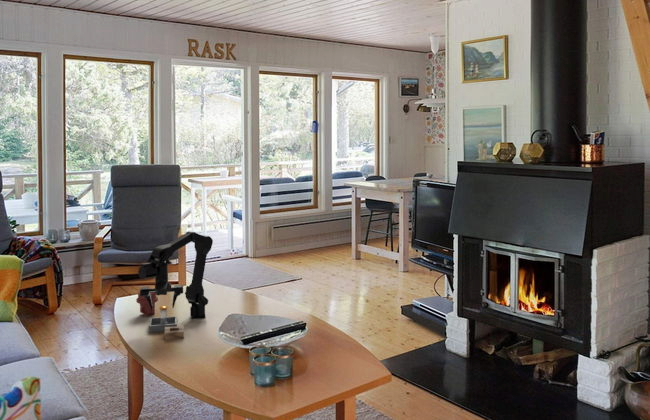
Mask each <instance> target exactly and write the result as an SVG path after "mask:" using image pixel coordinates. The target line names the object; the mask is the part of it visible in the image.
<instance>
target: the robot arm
mask: <svg viewBox="0 0 650 420" xmlns="http://www.w3.org/2000/svg"><path fill="white" fill-rule="evenodd" d="M213 242H214V240H213V238H212V237H211V236H209V235H204V234H203V235H202V234H200V233H197V232H195V231H190V230H188V231H185V232H184V234H182V235H180V236H179V237H177V238H175V239H173V240H171V241H170V242H169V243H166V244H161V245H158V246H156V247H154V248H153V249H152V251H151V254H150V256H149V258H148V259H147V261H146V263H141V264H140V267H139V268H138V270H137V273H138V276H139V278H140V279H141V280H146V279H150V278H154V288H150V286H141V287H140V289H139V291H140V296H143V297H146V299H147V300H148V302H149V305H150V307H151V310H152V299H151V293H156V296H161V295H162V296H167V295H168V293H170V292H171V293H172V292H173V296H172V297H173V299H172V304H171V305H172V309H174V307H175V304H176V300H177V299H178V297H179V296H181V294H184V295H185V299H186V300H187V302H188V304H190V305H191V306H189V307H190V308H189V309H190V310H189V311H190V313H189V314H190V317H191V319H204V318H206V306H207V305H208V304H209V299H208V298H207V297H206V296H205V289H204V286H203V279H204V273H205V267H206V261H207V257H208V254H209V252H210V251H211V250H212V247H213ZM190 243H193V244H194V251H195V261H194V266H193V271H192V278H191V283H190V284H189V285H186V287H185V292H184V285H183V284H174V286H173V287H172V283H170V282H169V268H168V267H169V265H172V264H173V262H172V261H170V258H171V257H172V256H173V255H174V253H176V251H179V250H180V249H182V248H184V247H185V246H186V245H188V244H190Z"/></svg>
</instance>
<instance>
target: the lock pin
mask: <svg viewBox="0 0 650 420" xmlns="http://www.w3.org/2000/svg"><path fill="white" fill-rule="evenodd" d="M167 309H168V306H167V305H161V306H159V312H160V313H159V314H160V320H161V325H165V324H167V317H168V313H167Z"/></svg>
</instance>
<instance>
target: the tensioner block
mask: <svg viewBox="0 0 650 420" xmlns="http://www.w3.org/2000/svg"><path fill="white" fill-rule="evenodd" d="M179 339H181V340H182V339H185V328H184V325H177V326H174V327H165V332H164V340H165V341H168V340H179Z"/></svg>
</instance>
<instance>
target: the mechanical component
mask: <svg viewBox="0 0 650 420" xmlns="http://www.w3.org/2000/svg"><path fill="white" fill-rule="evenodd" d="M151 299H152V310H151V307H150V305H149V302H148V300H147V299H146V297H143V296H140V290H139V291H138V292H137V298H136V300H135V301H136V303H137V304H138V305H139V313H141V314H142V315H143V317H148V316H150V315H151V316H152V315H155V314H156V303H157V302H159V297H158V295H156V293H151Z"/></svg>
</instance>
